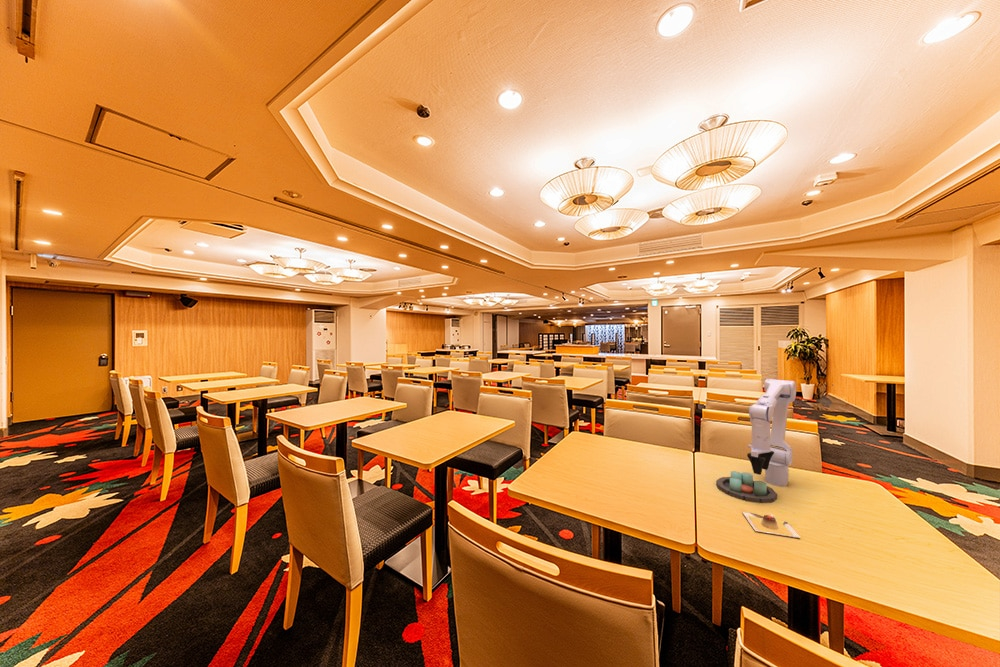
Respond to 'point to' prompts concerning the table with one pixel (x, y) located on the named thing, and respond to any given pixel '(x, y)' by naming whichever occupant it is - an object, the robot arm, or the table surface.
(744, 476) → the pale green cylinder
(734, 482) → the grey green cylinder
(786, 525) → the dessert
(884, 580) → the table surface
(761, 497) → the ring tray
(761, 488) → the bead
